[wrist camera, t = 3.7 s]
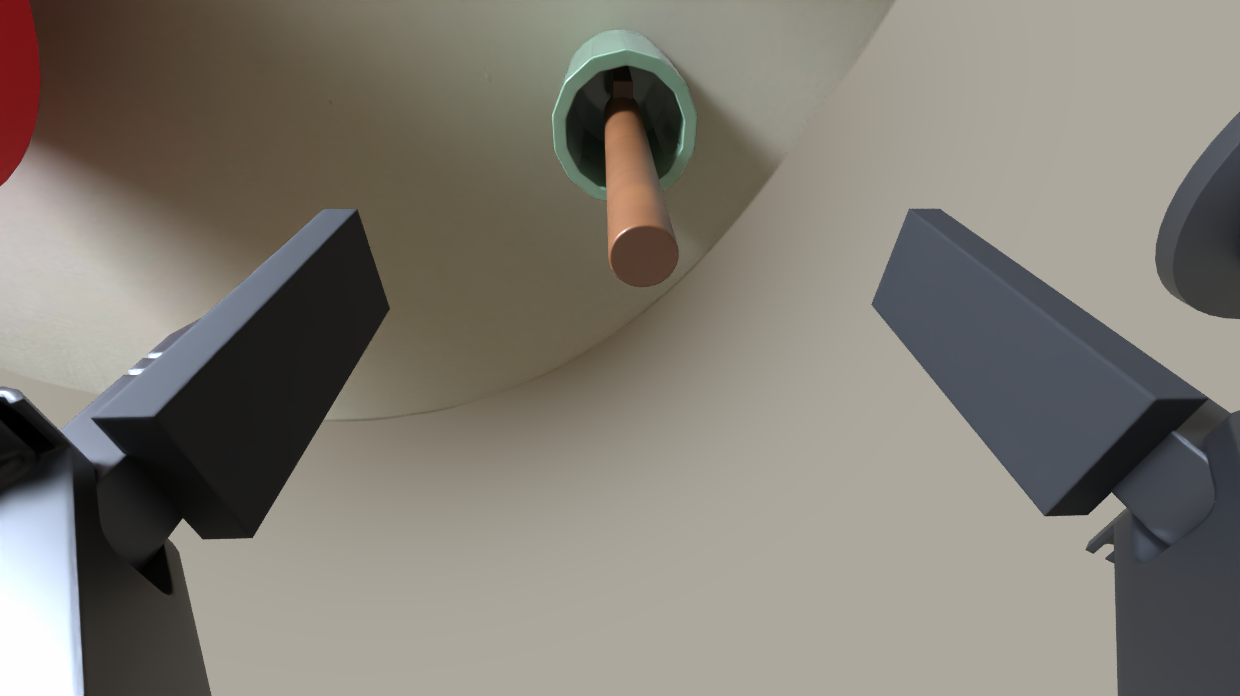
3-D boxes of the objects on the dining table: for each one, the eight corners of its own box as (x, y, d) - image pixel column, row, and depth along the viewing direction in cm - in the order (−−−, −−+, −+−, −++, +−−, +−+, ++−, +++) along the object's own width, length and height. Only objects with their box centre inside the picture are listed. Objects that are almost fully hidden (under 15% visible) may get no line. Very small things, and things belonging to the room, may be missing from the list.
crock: (677, 28, 27) (705, 50, 20) (668, 151, 31) (688, 205, 24) (561, 26, 27) (547, 47, 20) (567, 150, 31) (557, 205, 24)
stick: (635, 64, 27) (685, 196, 12) (633, 125, 29) (673, 310, 14) (603, 64, 27) (608, 196, 11) (603, 125, 29) (608, 310, 13)
